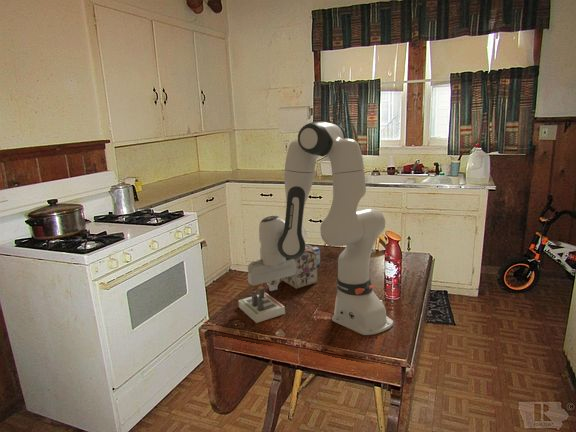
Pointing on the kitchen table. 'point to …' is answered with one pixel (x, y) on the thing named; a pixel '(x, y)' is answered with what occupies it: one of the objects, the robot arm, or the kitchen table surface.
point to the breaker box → (261, 307)
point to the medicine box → (317, 254)
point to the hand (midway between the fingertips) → (273, 289)
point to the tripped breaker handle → (261, 291)
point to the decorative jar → (304, 269)
